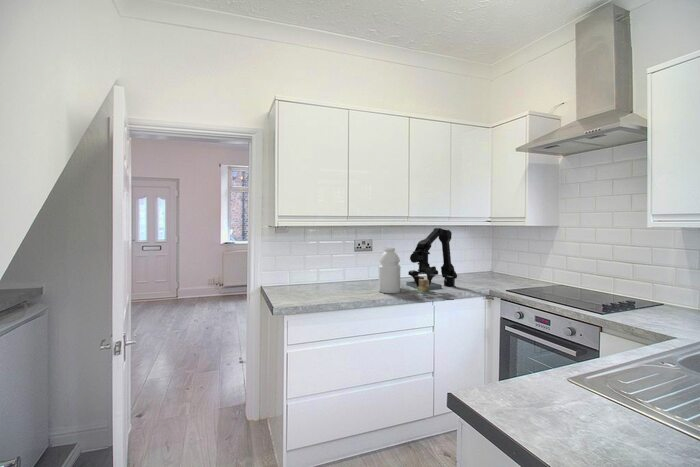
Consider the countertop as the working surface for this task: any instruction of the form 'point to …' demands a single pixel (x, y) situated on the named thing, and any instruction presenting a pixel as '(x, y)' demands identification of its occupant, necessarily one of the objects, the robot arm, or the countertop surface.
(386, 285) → the bottle
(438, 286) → the grey square slab
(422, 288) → the oak block
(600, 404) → the countertop surface
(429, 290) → the green pad
